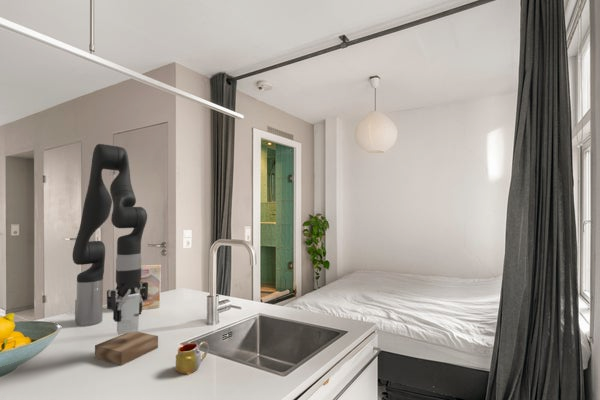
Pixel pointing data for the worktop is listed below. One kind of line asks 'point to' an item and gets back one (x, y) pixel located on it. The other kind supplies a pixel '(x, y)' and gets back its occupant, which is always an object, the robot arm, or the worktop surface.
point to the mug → (189, 357)
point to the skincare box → (129, 315)
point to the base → (126, 347)
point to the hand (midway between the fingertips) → (128, 317)
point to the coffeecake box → (151, 285)
